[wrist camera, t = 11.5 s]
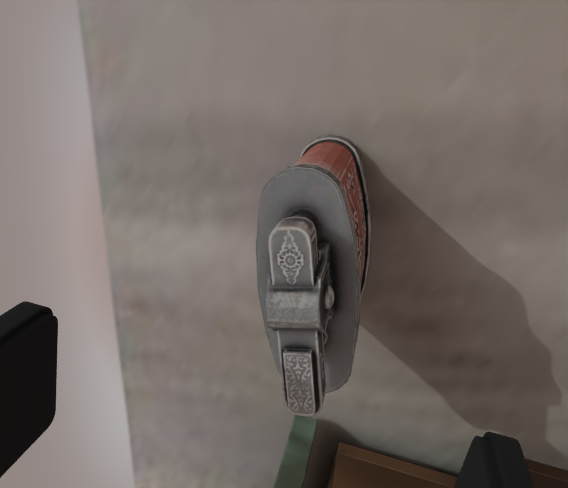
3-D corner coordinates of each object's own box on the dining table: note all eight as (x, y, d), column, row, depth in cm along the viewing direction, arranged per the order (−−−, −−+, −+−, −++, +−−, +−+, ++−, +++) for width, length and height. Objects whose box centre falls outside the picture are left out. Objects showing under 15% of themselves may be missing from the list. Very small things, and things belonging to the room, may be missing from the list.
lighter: (292, 136, 23) (217, 189, 13) (369, 132, 22) (345, 184, 13) (304, 301, 25) (249, 439, 16) (374, 302, 24) (358, 448, 15)
